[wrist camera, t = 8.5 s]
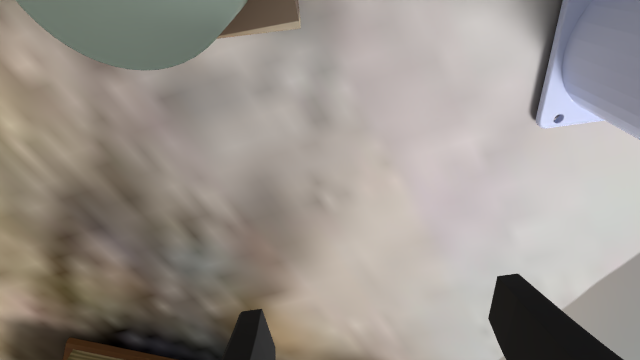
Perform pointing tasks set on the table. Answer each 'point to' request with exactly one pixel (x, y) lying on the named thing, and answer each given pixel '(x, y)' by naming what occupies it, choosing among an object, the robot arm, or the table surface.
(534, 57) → the table surface
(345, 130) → the table surface
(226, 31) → the walnut top block
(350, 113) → the table surface
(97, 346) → the diary
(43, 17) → the pale green short cylinder
